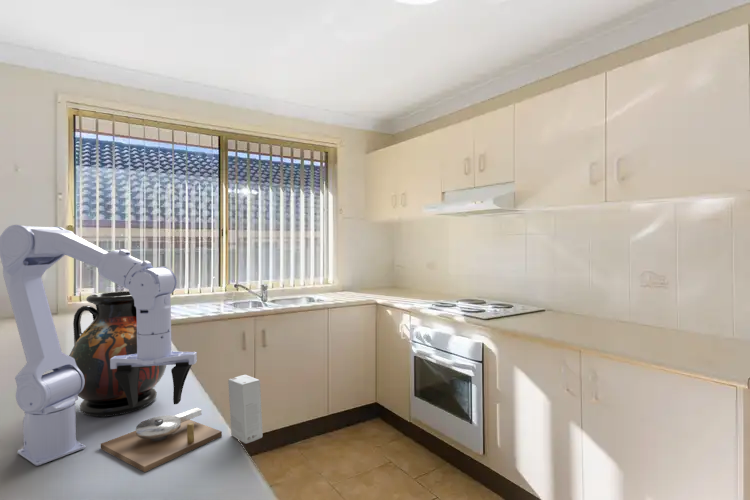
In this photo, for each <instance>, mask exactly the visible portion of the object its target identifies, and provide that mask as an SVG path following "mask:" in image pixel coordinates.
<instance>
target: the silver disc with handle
mask: <svg viewBox="0 0 750 500" xmlns="http://www.w3.org/2000/svg"><path fill="white" fill-rule="evenodd" d="M200 416H202V408H199V407H193V408H191V409H188V410H186V411H183V412H180V413H177V414H174V415H167V414H166V415H159V416H154V417H151V418H148V419H146V420H143V421H141V422H140V423H138V424H137V425H136V428H135V431H136V436H137V437H139V438H143V439H153V438H159V437H163V436H167V435H170V434H172V433H174V432H176V431H177V430H178V429H179V428H180V427H181V423H182V422H185V421H187V420H192V419H194V418H197V417H200Z"/></svg>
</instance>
